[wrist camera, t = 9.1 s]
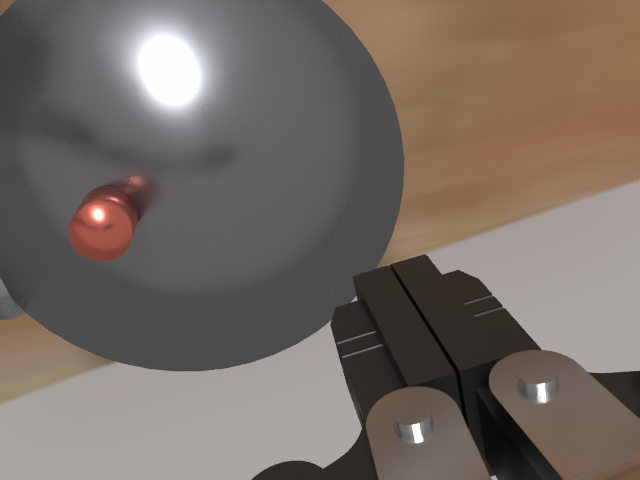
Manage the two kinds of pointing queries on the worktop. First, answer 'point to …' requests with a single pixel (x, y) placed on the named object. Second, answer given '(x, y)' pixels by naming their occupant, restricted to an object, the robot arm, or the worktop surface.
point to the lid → (190, 174)
